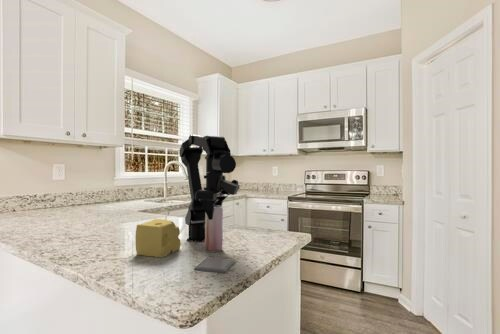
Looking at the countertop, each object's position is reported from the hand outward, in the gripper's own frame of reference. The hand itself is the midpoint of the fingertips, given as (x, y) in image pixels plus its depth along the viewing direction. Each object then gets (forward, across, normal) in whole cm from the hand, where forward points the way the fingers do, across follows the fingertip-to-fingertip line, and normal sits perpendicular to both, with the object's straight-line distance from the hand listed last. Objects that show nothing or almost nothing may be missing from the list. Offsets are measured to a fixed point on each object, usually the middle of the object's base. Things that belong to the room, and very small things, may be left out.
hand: (214, 217), depth 95 cm
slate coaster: (+11, -14, -6) cm, 19 cm away
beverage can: (+11, 0, 0) cm, 11 cm away
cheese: (+11, -7, +17) cm, 22 cm away
